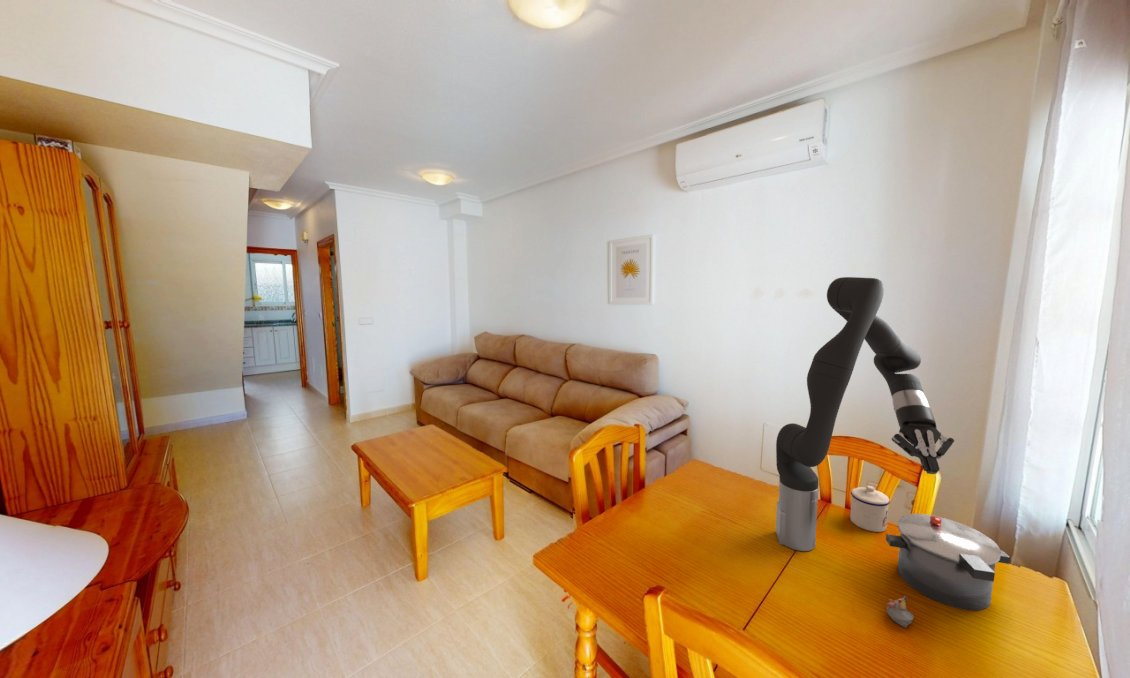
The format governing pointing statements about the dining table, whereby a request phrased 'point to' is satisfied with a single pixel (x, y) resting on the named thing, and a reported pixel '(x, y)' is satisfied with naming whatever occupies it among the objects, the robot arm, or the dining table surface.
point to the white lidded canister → (869, 509)
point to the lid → (952, 542)
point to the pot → (942, 576)
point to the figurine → (900, 612)
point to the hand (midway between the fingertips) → (932, 472)
